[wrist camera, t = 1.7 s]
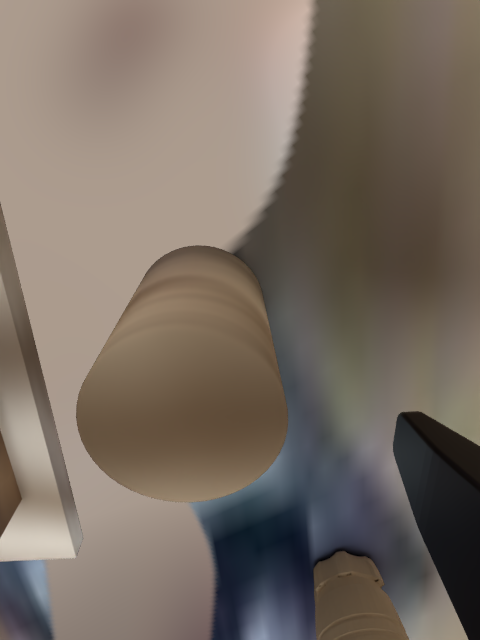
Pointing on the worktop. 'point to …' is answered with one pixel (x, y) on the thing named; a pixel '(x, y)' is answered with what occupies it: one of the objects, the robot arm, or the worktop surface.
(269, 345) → the pivot pin
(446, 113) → the worktop surface
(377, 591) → the handle
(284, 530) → the worktop surface
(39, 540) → the cradle
